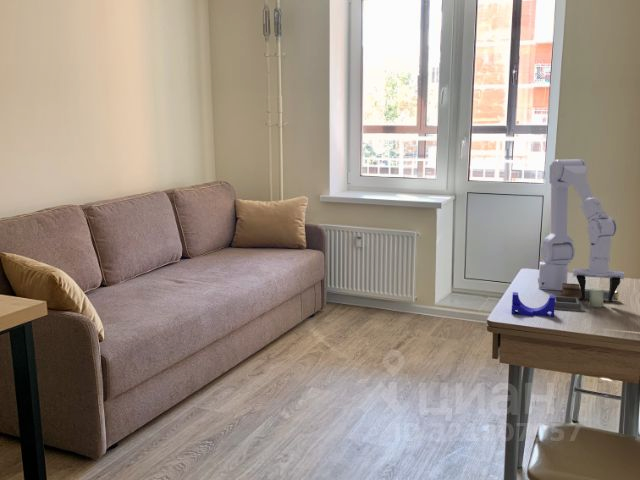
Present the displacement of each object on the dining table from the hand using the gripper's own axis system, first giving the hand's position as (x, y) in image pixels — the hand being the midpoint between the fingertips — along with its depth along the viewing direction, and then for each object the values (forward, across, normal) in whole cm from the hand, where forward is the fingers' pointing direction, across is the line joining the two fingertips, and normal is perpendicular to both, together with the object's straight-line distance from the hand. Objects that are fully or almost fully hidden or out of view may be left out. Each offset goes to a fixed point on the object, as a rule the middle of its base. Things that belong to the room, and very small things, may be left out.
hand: (596, 300), depth 208 cm
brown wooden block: (+2, -7, +7) cm, 10 cm away
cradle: (+2, -9, -3) cm, 10 cm away
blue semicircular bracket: (+2, -19, -15) cm, 24 cm away
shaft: (+2, 0, +7) cm, 7 cm away
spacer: (+2, 0, 0) cm, 2 cm away
